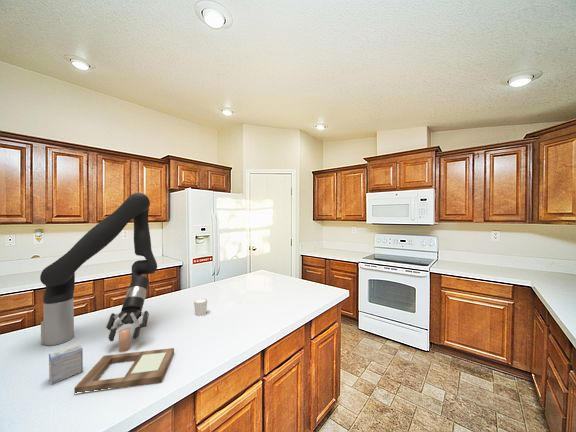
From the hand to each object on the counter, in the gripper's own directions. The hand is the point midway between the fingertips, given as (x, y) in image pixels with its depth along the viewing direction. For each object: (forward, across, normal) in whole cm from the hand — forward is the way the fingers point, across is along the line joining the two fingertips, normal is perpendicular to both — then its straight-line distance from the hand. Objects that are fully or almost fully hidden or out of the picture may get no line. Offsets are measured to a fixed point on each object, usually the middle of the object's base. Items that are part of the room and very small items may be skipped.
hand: (122, 339), depth 93 cm
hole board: (+13, +8, -6) cm, 16 cm away
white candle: (-17, +25, +24) cm, 39 cm away
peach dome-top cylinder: (+2, 0, +4) cm, 5 cm away
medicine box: (+12, -12, -5) cm, 17 cm away
